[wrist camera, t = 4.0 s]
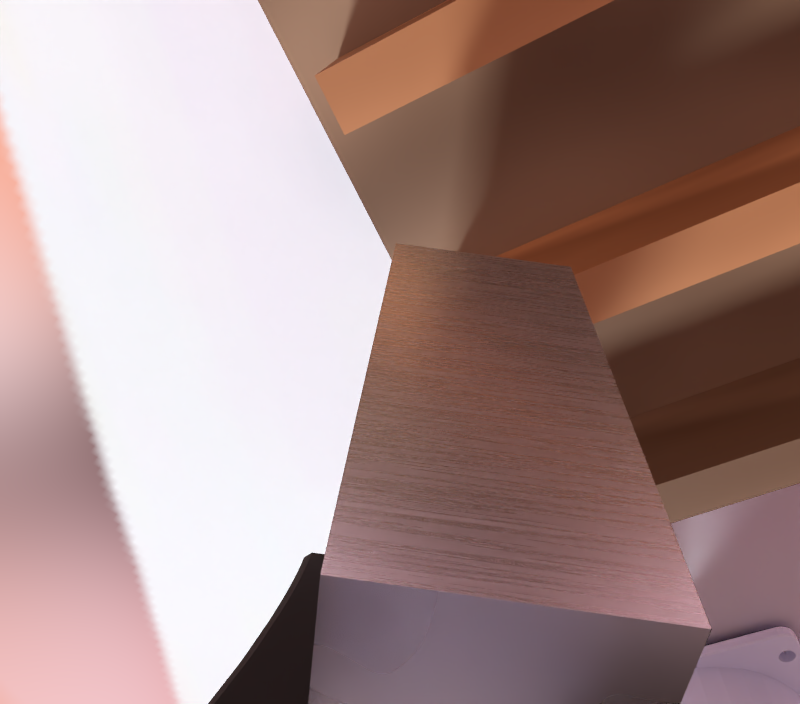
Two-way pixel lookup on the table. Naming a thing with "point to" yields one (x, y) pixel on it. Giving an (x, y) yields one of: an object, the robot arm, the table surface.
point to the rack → (600, 189)
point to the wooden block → (498, 508)
